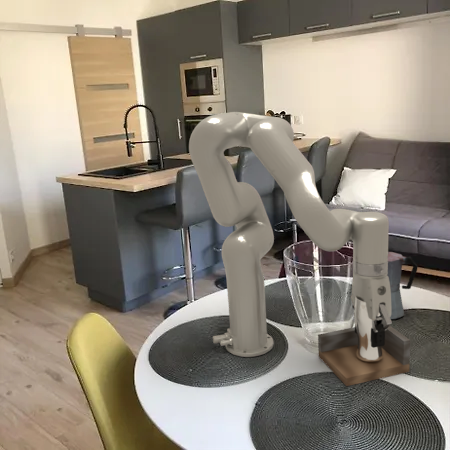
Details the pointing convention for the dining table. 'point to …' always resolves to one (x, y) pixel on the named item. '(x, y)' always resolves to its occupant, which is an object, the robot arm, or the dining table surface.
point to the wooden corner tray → (357, 369)
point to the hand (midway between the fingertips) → (369, 338)
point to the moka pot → (398, 281)
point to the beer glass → (365, 333)
